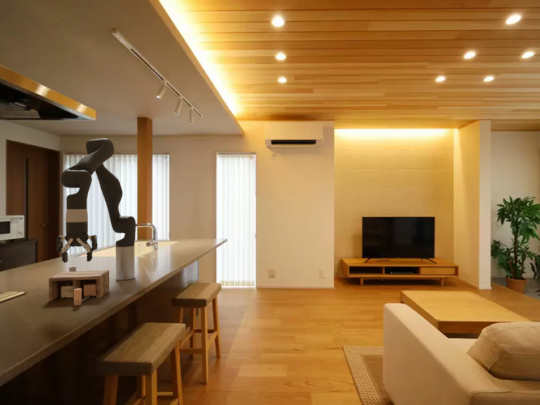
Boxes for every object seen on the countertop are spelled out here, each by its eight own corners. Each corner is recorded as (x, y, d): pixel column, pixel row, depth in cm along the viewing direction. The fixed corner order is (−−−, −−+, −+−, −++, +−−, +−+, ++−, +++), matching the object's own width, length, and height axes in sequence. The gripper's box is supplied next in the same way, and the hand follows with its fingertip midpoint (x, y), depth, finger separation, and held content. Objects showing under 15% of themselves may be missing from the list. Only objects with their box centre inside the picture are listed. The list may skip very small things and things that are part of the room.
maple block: (66, 294, 144) (66, 283, 144) (78, 294, 145) (78, 283, 145) (61, 297, 139) (61, 286, 139) (73, 297, 140) (73, 286, 140)
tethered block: (88, 293, 145) (88, 279, 145) (99, 292, 145) (99, 279, 145) (69, 305, 127) (69, 290, 127) (83, 305, 128) (82, 289, 128)
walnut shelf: (62, 292, 146) (62, 272, 146) (109, 290, 149) (109, 270, 149) (49, 300, 135) (48, 278, 135) (99, 298, 138) (99, 276, 138)
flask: (73, 290, 150) (73, 269, 150) (60, 290, 152) (59, 268, 152) (85, 286, 157) (85, 266, 157) (72, 286, 159) (72, 265, 159)
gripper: (99, 220, 133) (99, 259, 133) (61, 220, 131) (62, 260, 131) (92, 220, 126) (92, 262, 126) (52, 221, 124) (52, 264, 124)
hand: (77, 261), depth 129 cm, fingers open, 8 cm apart
